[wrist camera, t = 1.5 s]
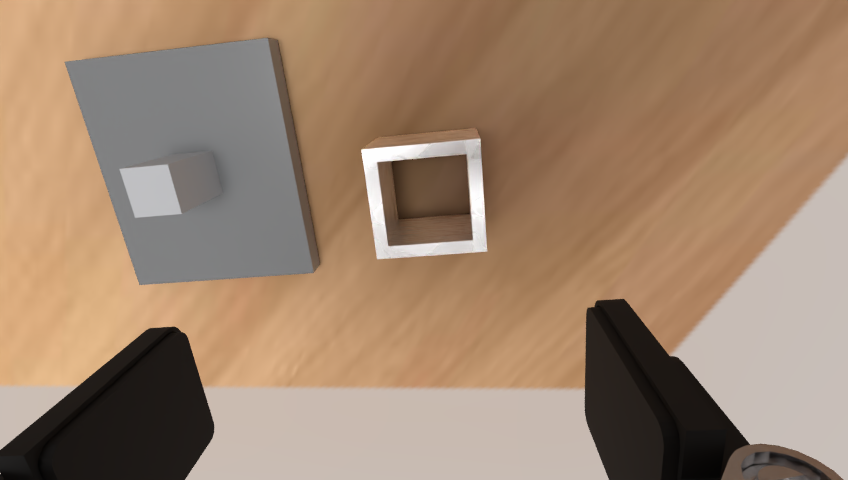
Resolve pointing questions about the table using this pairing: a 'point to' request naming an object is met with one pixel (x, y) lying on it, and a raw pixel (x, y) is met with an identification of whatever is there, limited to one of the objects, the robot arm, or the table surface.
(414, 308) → the table surface
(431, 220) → the collar
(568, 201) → the table surface
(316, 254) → the stand
